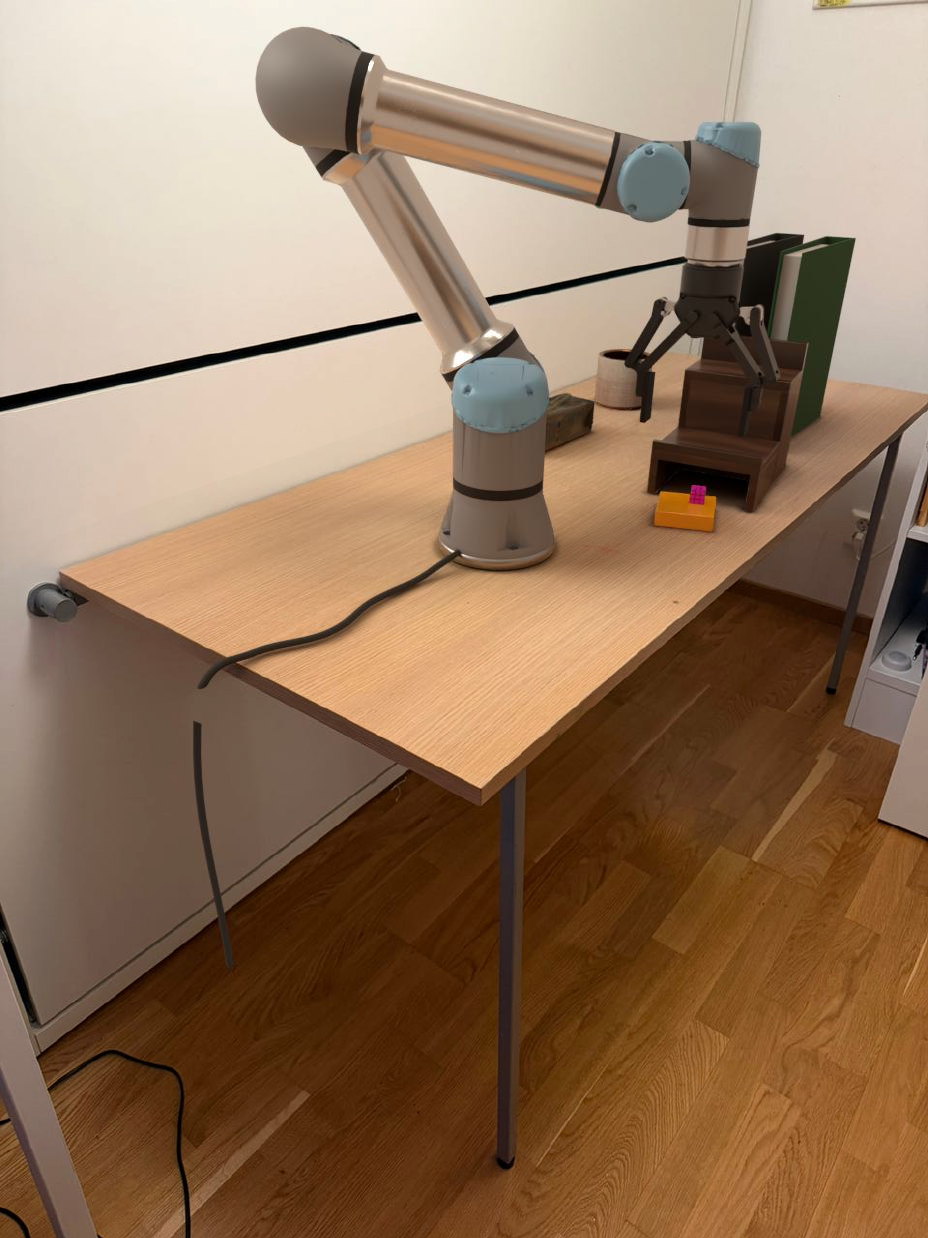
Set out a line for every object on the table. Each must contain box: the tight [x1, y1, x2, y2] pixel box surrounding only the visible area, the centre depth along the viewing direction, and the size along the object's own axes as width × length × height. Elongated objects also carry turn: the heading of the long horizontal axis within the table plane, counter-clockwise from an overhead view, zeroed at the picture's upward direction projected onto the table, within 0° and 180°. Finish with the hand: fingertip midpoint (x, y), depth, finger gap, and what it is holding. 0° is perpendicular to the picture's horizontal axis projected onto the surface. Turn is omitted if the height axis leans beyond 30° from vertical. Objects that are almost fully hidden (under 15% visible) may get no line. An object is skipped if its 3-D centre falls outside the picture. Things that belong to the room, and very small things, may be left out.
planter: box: [594, 348, 653, 410], centre depth 178 cm, size 11×11×10 cm
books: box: [733, 232, 856, 438], centre depth 159 cm, size 27×15×32 cm, turn 145°
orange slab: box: [653, 484, 717, 532], centre depth 127 cm, size 8×8×4 cm
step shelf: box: [646, 335, 808, 513], centre depth 137 cm, size 23×16×20 cm
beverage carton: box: [545, 392, 596, 451], centre depth 157 cm, size 8×19×7 cm, turn 140°
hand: (692, 427), depth 122 cm, fingers open, 13 cm apart
